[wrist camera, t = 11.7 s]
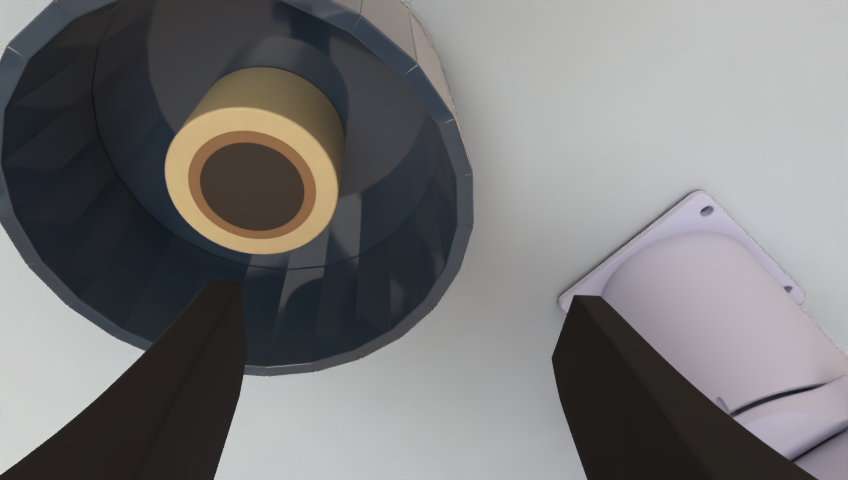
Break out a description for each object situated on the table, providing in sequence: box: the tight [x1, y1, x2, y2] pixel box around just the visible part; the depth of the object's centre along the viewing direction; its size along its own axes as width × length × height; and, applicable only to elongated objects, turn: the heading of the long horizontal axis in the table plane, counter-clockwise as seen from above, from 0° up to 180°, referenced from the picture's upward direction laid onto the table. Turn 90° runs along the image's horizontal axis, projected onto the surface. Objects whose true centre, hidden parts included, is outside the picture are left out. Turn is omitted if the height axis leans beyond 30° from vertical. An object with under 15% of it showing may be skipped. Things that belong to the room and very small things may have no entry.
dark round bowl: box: [0, 0, 474, 376], centre depth 18 cm, size 13×13×6 cm
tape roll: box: [165, 67, 345, 254], centre depth 18 cm, size 5×5×4 cm
